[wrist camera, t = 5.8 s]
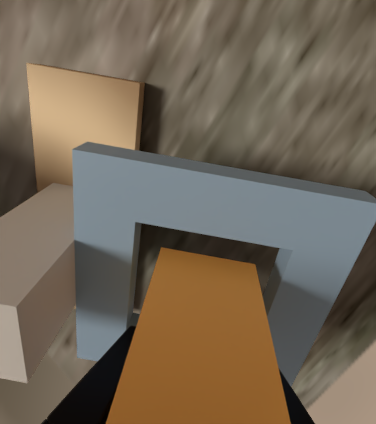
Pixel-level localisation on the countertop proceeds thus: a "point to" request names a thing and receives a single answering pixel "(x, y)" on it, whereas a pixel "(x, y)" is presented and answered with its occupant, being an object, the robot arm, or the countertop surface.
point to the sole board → (79, 117)
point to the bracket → (175, 219)
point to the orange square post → (201, 348)
